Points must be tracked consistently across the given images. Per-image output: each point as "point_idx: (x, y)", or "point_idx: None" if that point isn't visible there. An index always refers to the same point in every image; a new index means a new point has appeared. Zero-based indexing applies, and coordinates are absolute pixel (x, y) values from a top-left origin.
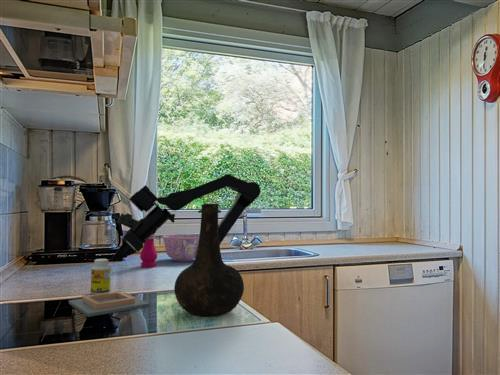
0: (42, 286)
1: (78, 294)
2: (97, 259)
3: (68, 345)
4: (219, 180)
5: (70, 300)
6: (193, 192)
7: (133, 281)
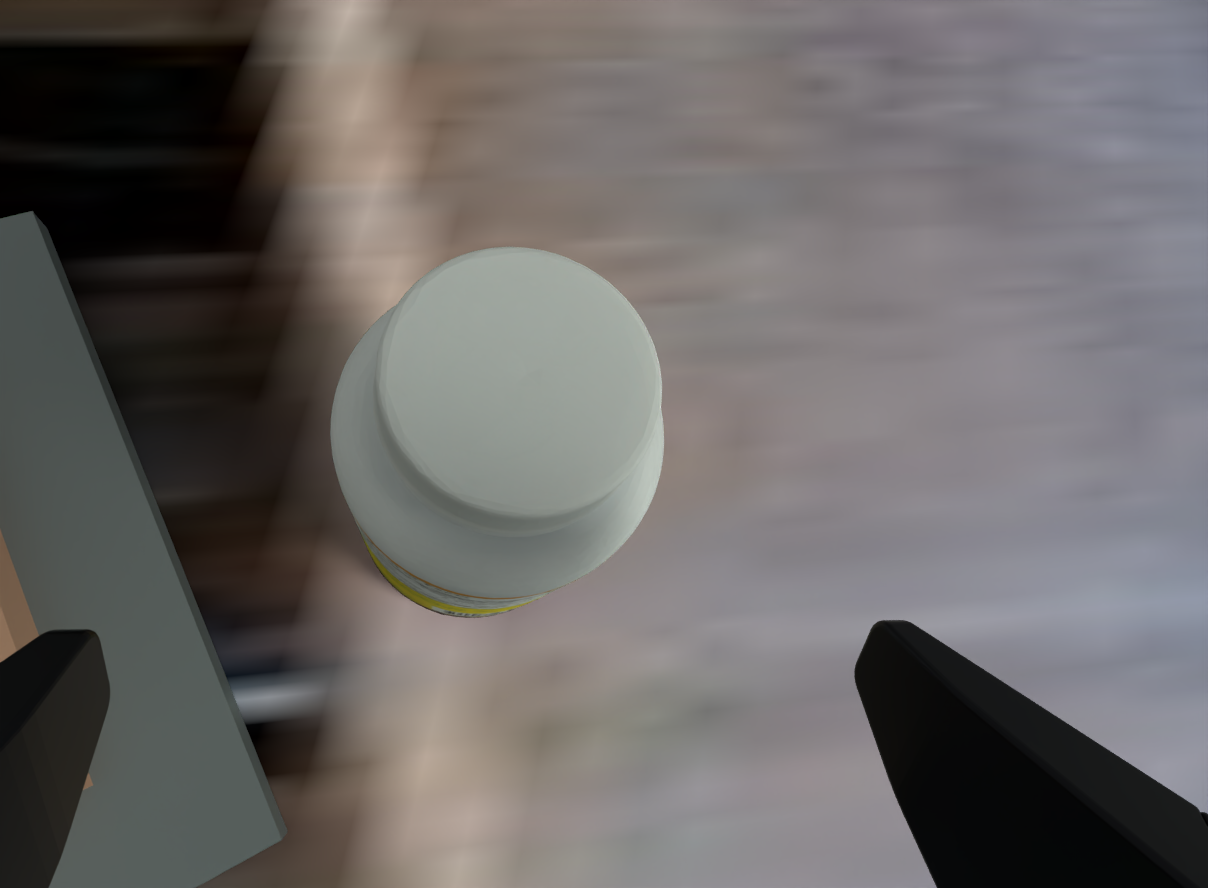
0: (850, 20)
1: None
2: (568, 296)
3: None
4: None
5: (24, 227)
6: None
7: None
